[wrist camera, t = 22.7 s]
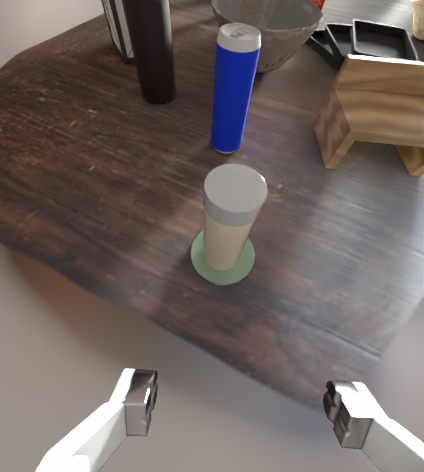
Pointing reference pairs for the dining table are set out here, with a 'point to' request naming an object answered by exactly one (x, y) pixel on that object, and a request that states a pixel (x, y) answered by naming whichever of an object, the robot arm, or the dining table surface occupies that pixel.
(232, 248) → the cylinder
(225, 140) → the beverage can
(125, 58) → the lantern
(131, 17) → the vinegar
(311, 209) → the dining table surface
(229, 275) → the coaster
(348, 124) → the wooden stand
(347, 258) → the dining table surface
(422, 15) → the bowl
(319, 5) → the food packaging
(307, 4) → the ceramic bowl
